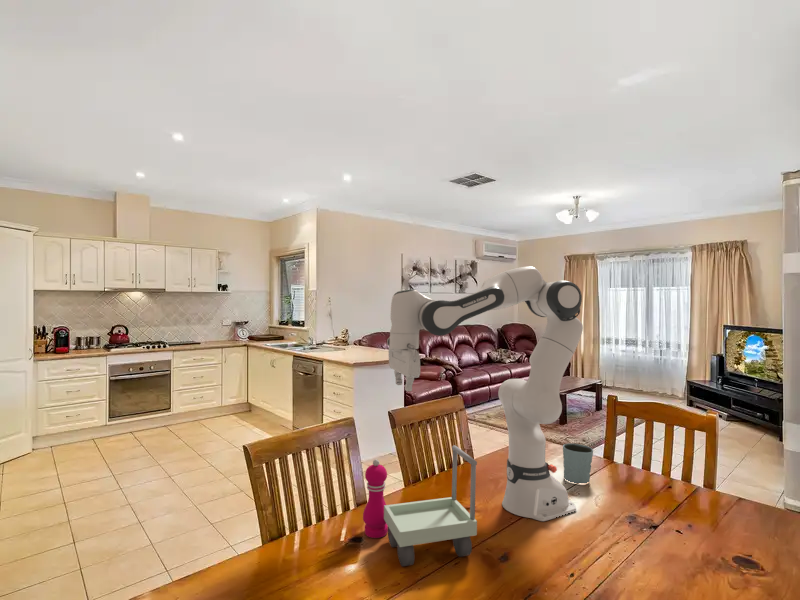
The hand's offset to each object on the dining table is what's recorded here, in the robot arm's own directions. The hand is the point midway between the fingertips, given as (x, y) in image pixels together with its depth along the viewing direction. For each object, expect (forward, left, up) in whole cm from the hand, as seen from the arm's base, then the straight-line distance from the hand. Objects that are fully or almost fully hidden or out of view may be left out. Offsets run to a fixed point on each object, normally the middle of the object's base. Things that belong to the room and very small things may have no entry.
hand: (403, 387), depth 136 cm
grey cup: (-68, -4, -37) cm, 78 cm away
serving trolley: (0, +23, -37) cm, 44 cm away
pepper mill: (+11, +11, -37) cm, 40 cm away
